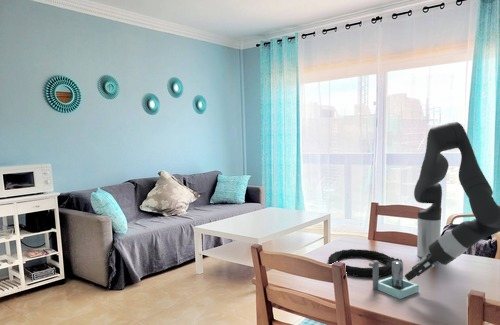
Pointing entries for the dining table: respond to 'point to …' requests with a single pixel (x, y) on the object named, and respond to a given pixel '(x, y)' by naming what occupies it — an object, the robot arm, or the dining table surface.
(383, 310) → the dining table surface
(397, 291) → the teal rectangular frame
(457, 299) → the dining table surface
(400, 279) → the pin
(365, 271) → the cable lock
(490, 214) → the robot arm
